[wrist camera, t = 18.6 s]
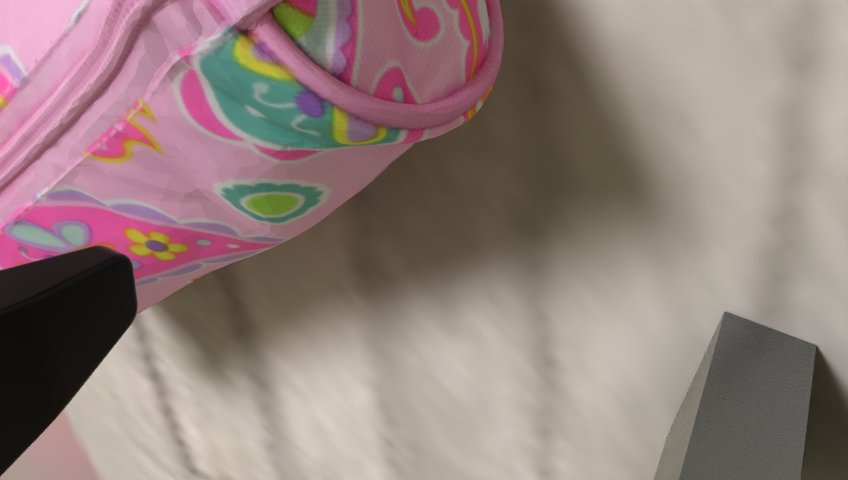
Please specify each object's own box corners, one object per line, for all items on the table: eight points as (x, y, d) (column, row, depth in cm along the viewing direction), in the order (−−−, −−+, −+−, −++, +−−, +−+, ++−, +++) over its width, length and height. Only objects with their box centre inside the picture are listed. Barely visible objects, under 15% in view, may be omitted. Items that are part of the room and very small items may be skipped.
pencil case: (141, 296, 32) (-61, 455, 25) (-13, 104, 30) (-276, 220, 23) (590, 42, 18) (417, 238, 12) (365, -337, 17) (2, -364, 10)
